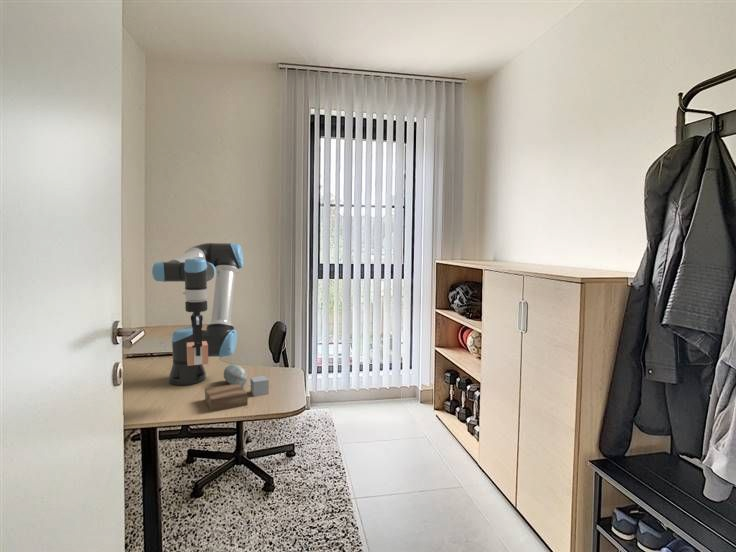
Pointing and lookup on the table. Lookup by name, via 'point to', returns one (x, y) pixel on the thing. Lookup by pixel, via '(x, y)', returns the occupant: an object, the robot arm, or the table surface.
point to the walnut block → (225, 397)
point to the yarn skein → (235, 374)
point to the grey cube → (259, 385)
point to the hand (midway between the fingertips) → (197, 361)
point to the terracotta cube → (191, 353)
